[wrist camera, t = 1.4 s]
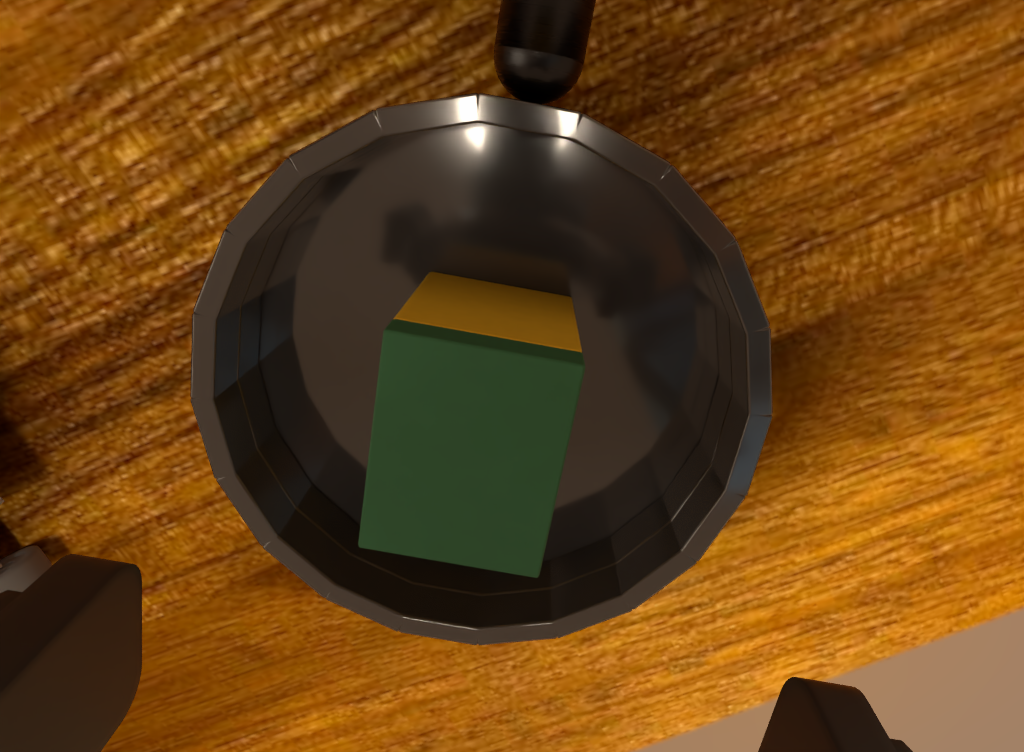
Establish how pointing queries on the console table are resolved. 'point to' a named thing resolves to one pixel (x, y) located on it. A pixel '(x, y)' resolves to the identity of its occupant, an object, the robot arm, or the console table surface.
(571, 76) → the skillet handle
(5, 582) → the toy car
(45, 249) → the console table surface
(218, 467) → the skillet
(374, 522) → the sponge
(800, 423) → the console table surface
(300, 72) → the console table surface
